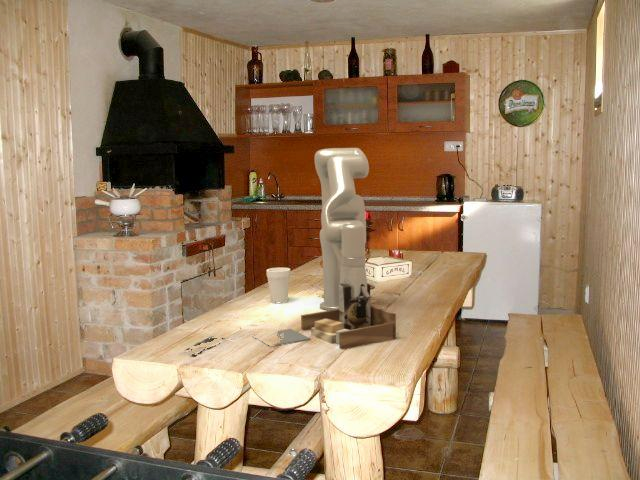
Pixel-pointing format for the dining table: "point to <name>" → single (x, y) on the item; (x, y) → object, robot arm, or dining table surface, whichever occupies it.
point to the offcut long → (324, 335)
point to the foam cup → (278, 283)
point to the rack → (378, 331)
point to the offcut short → (328, 325)
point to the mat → (291, 336)
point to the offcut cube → (338, 335)
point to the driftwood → (204, 342)
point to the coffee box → (352, 309)
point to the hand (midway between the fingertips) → (354, 314)
